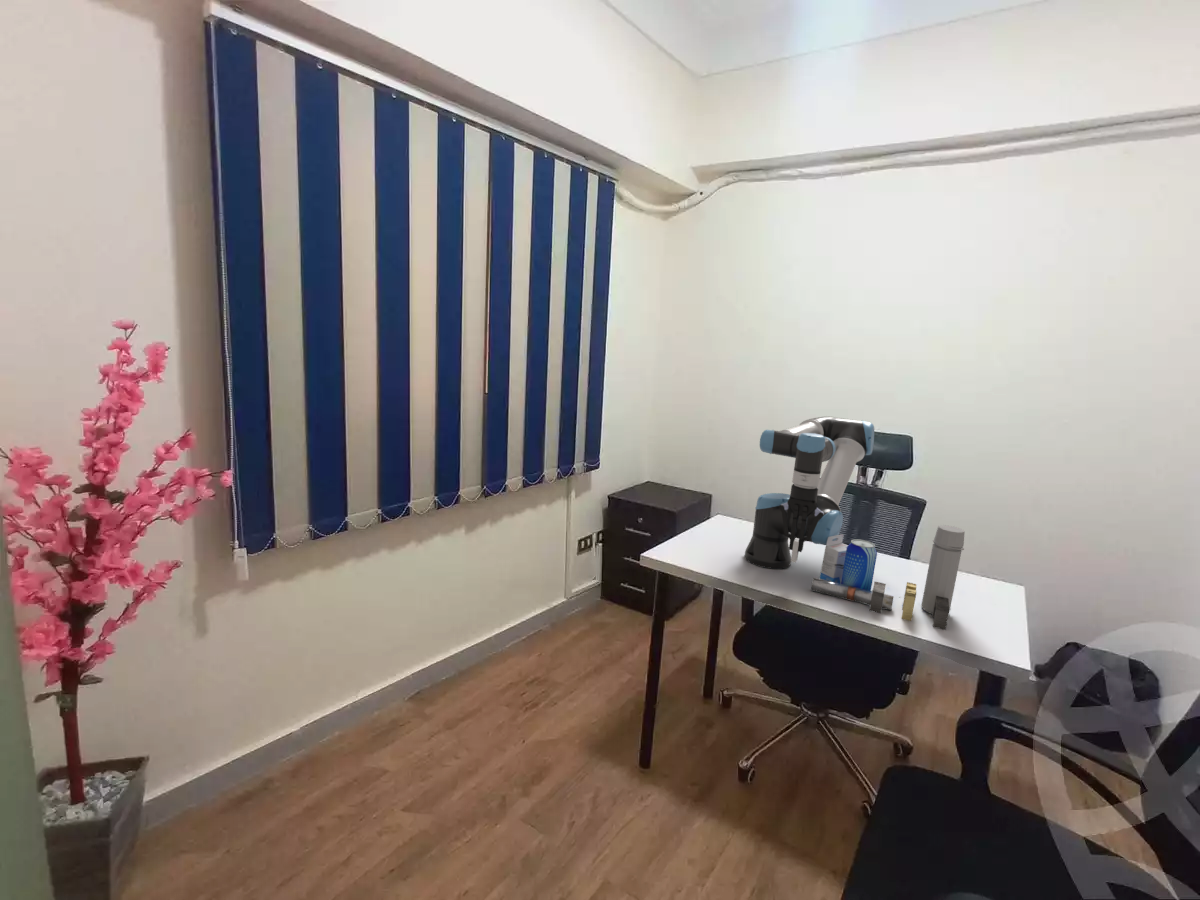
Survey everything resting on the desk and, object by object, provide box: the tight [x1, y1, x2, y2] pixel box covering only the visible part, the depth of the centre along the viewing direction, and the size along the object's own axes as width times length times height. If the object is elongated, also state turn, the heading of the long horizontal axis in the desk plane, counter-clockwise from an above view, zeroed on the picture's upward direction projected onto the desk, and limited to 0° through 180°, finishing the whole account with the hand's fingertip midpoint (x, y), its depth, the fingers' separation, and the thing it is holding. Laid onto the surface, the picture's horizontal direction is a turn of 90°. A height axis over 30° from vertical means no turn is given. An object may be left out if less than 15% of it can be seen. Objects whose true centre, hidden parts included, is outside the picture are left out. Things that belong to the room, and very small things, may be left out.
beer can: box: [841, 538, 878, 591], centre depth 180 cm, size 8×8×16 cm
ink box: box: [819, 534, 849, 584], centre depth 187 cm, size 8×5×15 cm, turn 124°
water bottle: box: [921, 524, 965, 615], centre depth 170 cm, size 9×8×25 cm
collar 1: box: [869, 581, 887, 614], centre depth 172 cm, size 3×8×6 cm, turn 152°
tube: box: [810, 576, 895, 611], centre depth 176 cm, size 22×4×4 cm, turn 62°
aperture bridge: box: [901, 581, 917, 622], centre depth 168 cm, size 2×8×8 cm, turn 152°
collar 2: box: [931, 596, 951, 631], centre depth 165 cm, size 3×8×6 cm, turn 152°
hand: (794, 560), depth 181 cm, fingers closed
